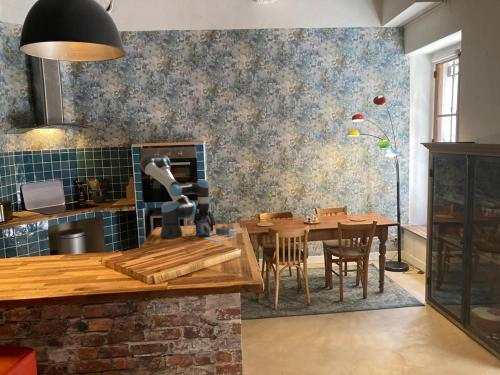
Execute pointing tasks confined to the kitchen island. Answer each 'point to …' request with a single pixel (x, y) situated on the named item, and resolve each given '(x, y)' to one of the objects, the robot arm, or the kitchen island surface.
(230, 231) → the die
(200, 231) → the small box
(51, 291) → the kitchen island surface
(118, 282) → the kitchen island surface
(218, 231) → the button collar
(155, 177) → the robot arm
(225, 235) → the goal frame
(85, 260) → the kitchen island surface
